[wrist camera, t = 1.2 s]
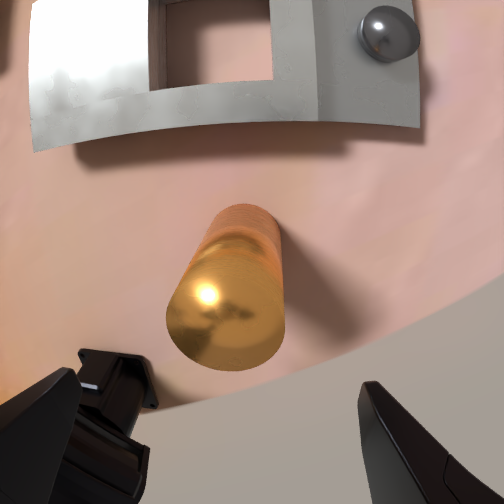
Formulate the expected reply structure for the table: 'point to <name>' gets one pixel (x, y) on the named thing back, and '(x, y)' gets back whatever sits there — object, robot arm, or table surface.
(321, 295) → the table surface
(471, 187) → the table surface
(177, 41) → the table surface
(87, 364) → the robot arm
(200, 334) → the gold metallic cylinder
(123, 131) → the grey panel with knob
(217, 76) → the table surface
